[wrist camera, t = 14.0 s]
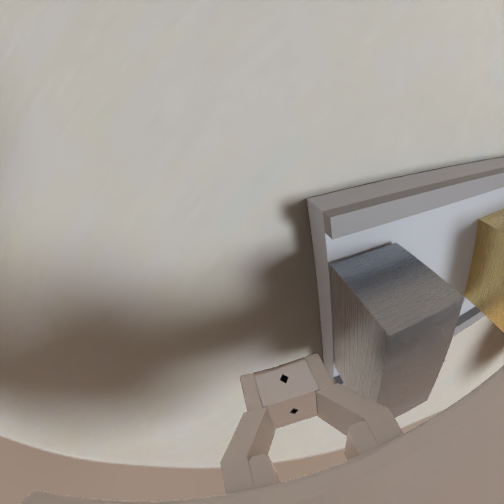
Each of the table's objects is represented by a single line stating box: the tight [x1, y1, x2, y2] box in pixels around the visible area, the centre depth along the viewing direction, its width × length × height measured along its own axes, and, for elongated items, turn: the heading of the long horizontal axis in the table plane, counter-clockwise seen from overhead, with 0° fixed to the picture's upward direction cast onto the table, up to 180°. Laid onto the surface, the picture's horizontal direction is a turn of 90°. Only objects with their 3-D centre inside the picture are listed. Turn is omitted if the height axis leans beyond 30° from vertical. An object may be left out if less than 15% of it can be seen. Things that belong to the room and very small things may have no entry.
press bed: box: [307, 157, 504, 387], centre depth 11 cm, size 18×10×6 cm, turn 102°
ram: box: [330, 243, 464, 418], centre depth 10 cm, size 4×6×4 cm
